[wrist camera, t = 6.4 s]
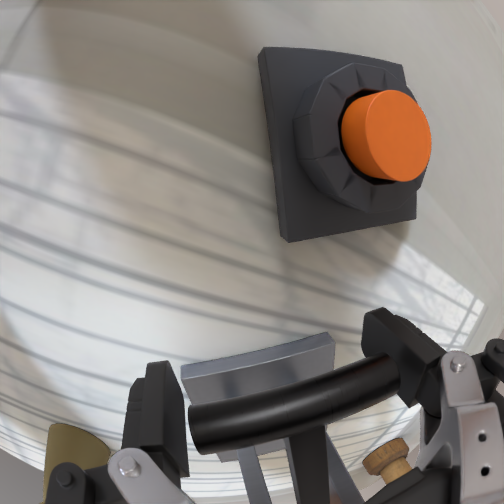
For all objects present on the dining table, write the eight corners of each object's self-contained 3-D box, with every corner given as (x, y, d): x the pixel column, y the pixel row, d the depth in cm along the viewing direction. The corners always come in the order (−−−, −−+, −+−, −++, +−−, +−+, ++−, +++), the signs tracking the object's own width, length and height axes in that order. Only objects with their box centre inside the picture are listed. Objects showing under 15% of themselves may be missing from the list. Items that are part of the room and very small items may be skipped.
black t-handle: (189, 389, 7) (184, 433, 5) (367, 342, 8) (410, 364, 6) (258, 548, 7) (267, 576, 5) (361, 516, 8) (378, 540, 6)
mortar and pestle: (353, 468, 26) (404, 556, 9) (381, 442, 25) (445, 536, 8) (383, 459, 28) (433, 535, 11) (410, 433, 27) (469, 512, 10)
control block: (257, 55, 10) (275, 29, 7) (389, 68, 11) (424, 58, 9) (280, 236, 13) (303, 256, 10) (403, 214, 14) (438, 226, 12)
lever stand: (180, 365, 14) (204, 589, 3) (327, 331, 16) (455, 498, 4) (219, 451, 18) (250, 580, 6) (320, 426, 20) (382, 539, 8)
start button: (335, 93, 9) (358, 84, 7) (399, 100, 10) (426, 96, 8) (345, 180, 10) (370, 184, 9) (407, 176, 11) (433, 180, 9)
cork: (118, 444, 16) (114, 556, 6) (102, 465, 17) (97, 555, 7) (52, 414, 14) (25, 524, 4) (46, 439, 15) (27, 528, 4)
